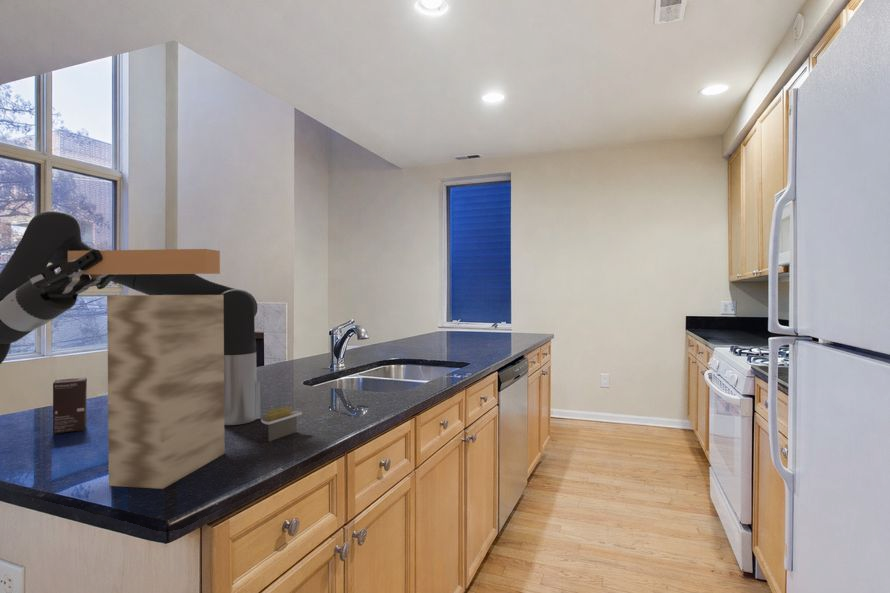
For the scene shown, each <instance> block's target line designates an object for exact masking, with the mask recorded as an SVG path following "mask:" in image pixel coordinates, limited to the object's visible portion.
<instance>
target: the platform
mask: <svg viewBox="0 0 890 593" xmlns="http://www.w3.org/2000/svg"><path fill="white" fill-rule="evenodd" d="M302 415H303V411H302V410H292V406H290V407H287V406H286V405H285V406H282V407H277V408H275V409H274V408H273V409H272V410H267V411H266V416H264V417H262V418H260V421H261V423H262V424H264V425H268V442H272V441H275V440H277V439H281V438H285V437H286V436H289V435H292V434H295V433H297V432H298V431H297V430H298V429H297V426H298V425H297V424H298V423H297V417H298V416H302Z"/></svg>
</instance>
